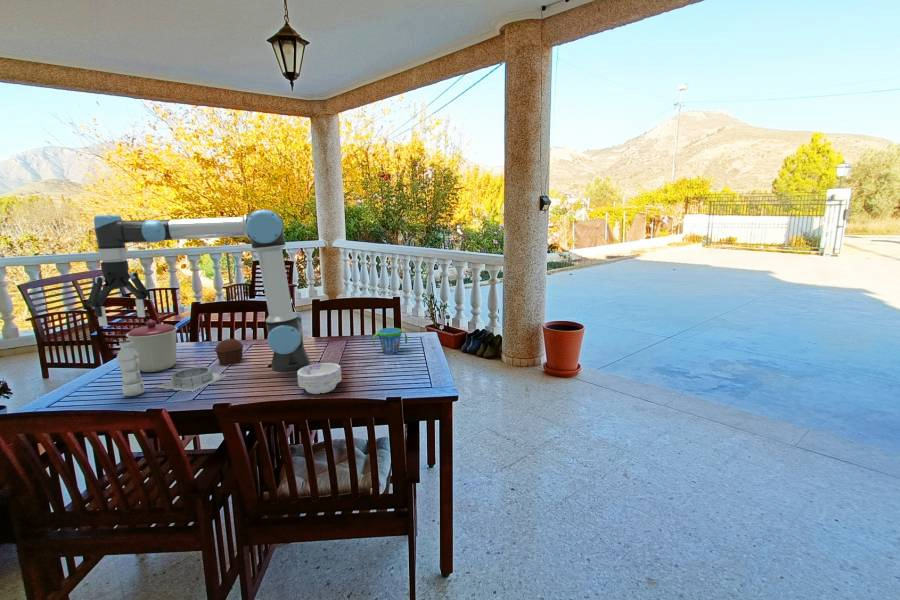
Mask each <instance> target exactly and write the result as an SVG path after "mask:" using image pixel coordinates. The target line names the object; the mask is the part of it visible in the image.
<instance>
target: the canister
mask: <svg viewBox="0 0 900 600" xmlns="http://www.w3.org/2000/svg"><path fill="white" fill-rule="evenodd" d="M177 330H178V327H177V326H174V325H173V324H169V323H162V324H161V323H158V324H157V320H154V319H150V320H147V321H146V322H145V325H143V326H139V327H135V328H134V329H131V330H130V331H128V332H126V334H125V336H126V338H128V340H131V341H132V344H133V346H132V347H133V348H134V349H135V350H136V351H137V352H138V354H139V369H140V372H144V373H155V372H161V371H165V370H169V369H171V368H173V367H174V366H175V364H176V363H177Z"/></svg>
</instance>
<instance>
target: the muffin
mask: <svg viewBox="0 0 900 600" xmlns="http://www.w3.org/2000/svg"><path fill="white" fill-rule="evenodd" d="M243 348H244V344H242V343H241V341H239V340H237V339H235V338H226V339H223V340H221V341H220V342H219V343H218V344H217V346H216V347H215V349H214V351H215V352H216V356H217V360H218V362H219V364H220V365H221V364H223V365H222V366H230V365H229V364H232V365H235V364H238V363H240V361H241V362H242V361H243Z"/></svg>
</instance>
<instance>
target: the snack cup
mask: <svg viewBox="0 0 900 600" xmlns="http://www.w3.org/2000/svg"><path fill="white" fill-rule="evenodd" d="M402 333H403V334H404V337H405V341H404V343H405V344H407V343H408V335H407V333H406V331H404V330H402V329H401V328H398V327H386V328H385V327H384V328H382V329H379V330H378V331H377V332H376V333H374V335H373V337H372V345H373V347H376V345H375V338H376V337H377V336H378V339H379V341H380V345H381V350H382V353H383V354H386V353H392V354H396V353H398V352H399V351H400V344H401V343H400V342H401V336H402ZM395 352H396V353H395Z"/></svg>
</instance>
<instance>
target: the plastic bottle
mask: <svg viewBox="0 0 900 600" xmlns="http://www.w3.org/2000/svg"><path fill="white" fill-rule="evenodd" d="M132 346H133V344H132V341H131V340H129V339H128V340H121V341H119V348H120V350H119V351H118V352H117V355H116V360H117V363H118V366H119V369H120V372H121V378H122V379H121V380H122V381H121V382H122V385H121V389H122V393H123V395H124V396H126V397H136V396H138V395H142V394H143V393H144V392H145V388H146V387H145V383H144V380H143V379H142V376H141V370H140V369H139V354H138V352H137V351H136V350H135V349H134V348H133V347H132Z"/></svg>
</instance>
